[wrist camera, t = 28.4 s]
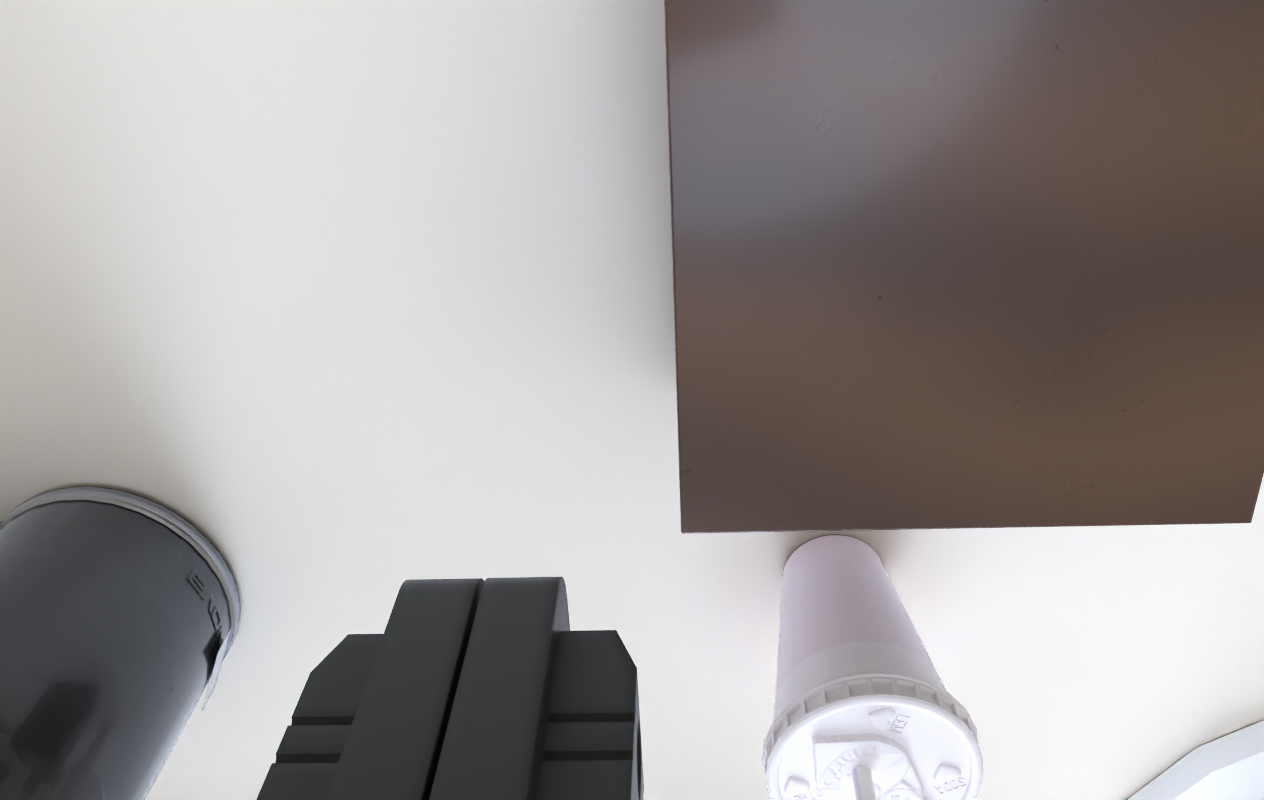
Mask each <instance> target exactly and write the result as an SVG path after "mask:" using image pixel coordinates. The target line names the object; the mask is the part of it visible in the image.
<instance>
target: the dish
mask: <svg viewBox="0 0 1264 800" xmlns="http://www.w3.org/2000/svg"><path fill="white" fill-rule="evenodd" d="M1127 800H1264V720H1263V721H1260V722H1258V723H1256V724H1253V725H1251V726H1248V727H1246V728H1243V729H1241V730H1238V731H1236V732H1233V733H1231V734H1229V735H1226V736H1224V737H1221V738H1219V739H1216V740H1214V741H1211V742H1209V743H1206V744H1204V745H1202V746H1199V747H1197V748H1195V749H1194V750H1193V751H1191V752H1190V753H1189V754H1187V755H1186V756H1185V757H1183V758H1182V759H1181V760H1179V761H1178V762H1177V763H1175V764H1174V765H1173V766H1171V767H1170V768H1169V769H1167V770H1166V771H1165V772H1163V773H1162V774H1161V775H1159V776H1158V777H1157V778H1155V779H1154V780H1153V781H1151V782H1150V783H1149V784H1147V785H1146V786H1145V787H1143V788H1142V789H1141V790H1139V791H1138V792H1137V793H1135V794H1134V795H1133V796H1131V797H1130V798H1129V799H1127Z"/></svg>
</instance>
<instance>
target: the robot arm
mask: <svg viewBox="0 0 1264 800" xmlns="http://www.w3.org/2000/svg"><path fill="white" fill-rule="evenodd" d="M239 620H240V602H239V596H238V591H237V588H236V584H235V581H234V579H233V577H232V574H231V572H230V570H229V568H228V566H227V565H226V563H225V561H224V560H223V558H222V557H221V555H220V554H219V553H218V551H217V550H216V549H215V548H214V546H213V545H212V544H211V543H210V542H209V541H208V540H207V539H206V538H205V537H204V536H203V535H202V534H201V533H200V532H199V531H198V530H197V529H196V528H194V527H193V526H192V525H191V524H189V523H188V522H187V521H185V520H184V519H183V518H181V517H180V516H178V515H176V514H175V513H173V512H172V511H170V510H168V509H166V508H164V507H162V506H160V505H159V504H156V503H154V502H152V501H149V500H147V499H145V498H142V497H139V496H136V495H133V494H129V493H126V492H122V491H117V490H112V489H106V488H96V487H74V488H65V489H59V490H54V491H50V492H47V493H44V494H41V495H38V496H36V497H34V498H32V499H30V500H28V501H26V502H24V503H23V504H21V505H20V506H18V507H17V508H16V509H15V510H14V511H13V512H11V513H10V514H9V515H8V516H7V517H6V518H5V520H4V521H3V522H2V523H1V524H0V800H145V798H146V796H147V795H148V793H149V791H150V789H151V787H152V785H153V783H154V782H155V780H156V778H157V776H158V774H159V772H160V771H161V769H162V767H163V765H164V763H165V761H166V759H167V758H168V756H169V754H170V752H171V750H172V748H173V746H174V745H175V743H176V741H177V739H178V737H179V735H180V733H181V732H182V730H183V728H184V726H185V724H186V722H187V720H188V719H189V717H190V715H191V713H192V711H193V709H194V708H195V706H196V704H197V702H198V700H199V698H200V696H201V695H202V693H203V691H204V689H205V687H206V685H207V683H208V682H209V680H210V678H211V680H210V683H209V687H208V691H207V694H206V698H205V702H204V705H203V709H204V707H205V705H206V703H207V701H208V699H209V697H210V695H211V693H212V692H213V690H214V688H215V685H216V681H217V678H218V674H219V670H220V667H221V663H222V661H223V659H224V657H225V656H226V654H227V652H228V650H229V648H230V647H231V645H232V643H233V641H234V638H235V636H236V633H237V630H238V626H239ZM203 709H202V711H203ZM643 791H644V785H643V768H642V750H641V733H640V716H639V699H638V682H637V668H636V666H635V664H634V662H633V660H632V659H631V657H630V655H629V653H628V651H627V649H626V648H625V646H624V644H623V642H622V640H621V638H620V637H619V635H618V633H617V631H616V630H604V631H570V626H569V615H568V604H567V594H566V587H565V582H564V579H563V577H526V578H487V579H486V580H485V582H484V580H483V579H427V580H406V581H405V582H404V583H403V584H402V586H401V588H400V590H399V593H398V596H397V599H396V601H395V604H394V607H393V610H392V613H391V615H390V618H389V621H388V624H387V627H386V629H385V632H384V634H350V635H347V636H346V638H345V639H344V640H343V641H342V642H341V643H340V644H339V645H338V646H337V647H336V648H335V649H334V650H333V651H332V652H331V653H330V654H329V655H328V656H327V657H326V658H325V659H324V660H323V661H322V662H321V663H320V664H319V665H318V666H317V667H316V668H315V669H314V670H313V671H312V672H311V673H310V675H309V678H308V680H307V682H306V685H305V687H304V689H303V692H302V694H301V696H300V699H299V701H298V703H297V706H296V708H295V711H294V713H293V715H292V725H291V726H288V727H287V729H286V732H285V734H284V736H283V739H282V741H281V743H280V746H279V748H278V751H277V753H276V763H272V765H271V767H270V769H269V772H268V774H267V776H266V779H265V781H264V783H263V786H262V788H261V791H260V793H259V795H258V798H257V800H643Z"/></svg>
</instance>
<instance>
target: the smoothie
mask: <svg viewBox="0 0 1264 800" xmlns="http://www.w3.org/2000/svg"><path fill="white" fill-rule="evenodd" d="M762 763H763V767H764V771H765V775H766V784H767V790H768V793H769V797H770V799H771V800H974V799H975V797H976V795H977V793H978V790H979V788H980V785H981V781H982V777H983V759H982V754H981V750H980V747H979V744H978V736H977V729H976V727H975V725H974V723H973V721H972V720H971V718H970V716H969V714H968V712H967V710H966V709H965V708H964V707H963V706H962V705H961V704H960V703H959V702H958V701H957V700H956V699H955V698H953V697H952V696H951V695H950V694H949V693H948V692H947V691H946V689H945V687H944V685H943V683H942V681H941V679H940V677H939V675H938V674H937V672H936V670H935V668H934V666H933V664H932V662H931V660H930V658H929V656H928V654H927V652H926V650H925V648H924V646H923V644H922V642H921V640H920V638H919V636H918V634H917V632H916V630H915V628H914V626H913V624H912V622H911V620H910V618H909V616H908V614H907V612H906V610H905V608H904V606H903V604H902V602H901V600H900V598H899V596H898V594H897V592H896V590H895V588H894V586H893V584H892V582H891V580H890V578H889V576H888V574H887V572H886V570H885V568H884V566H883V564H882V562H881V560H880V558H879V556H878V554H877V553H876V552H875V551H874V550H873V549H872V548H871V547H870V546H869V545H868V544H866V543H865V542H863V541H861V540H858V539H856V538H853V537H849V536H843V535H829V536H823V537H819V538H815V539H813V540H810V541H808V542H806V543H805V544H803V545H801V546H800V547H799V548H798V549H796V550H795V551H794V552H793V553H792V555H791V556H790V557H789V559H788V560H787V562H786V564H785V567H784V570H783V577H782V594H781V611H780V628H779V645H778V663H777V680H776V697H775V706H774V721H773V723H772V725H771V727H770V729H769V731H768V733H767V735H766V737H765V739H764V747H763V757H762Z"/></svg>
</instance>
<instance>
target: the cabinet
mask: <svg viewBox="0 0 1264 800" xmlns="http://www.w3.org/2000/svg"><path fill="white" fill-rule="evenodd" d="M664 5H665V36H666V68H667V99H668V131H669V162H670V194H671V225H672V257H673V288H674V320H675V351H676V383H677V414H678V446H679V478H680V509H681V532H682V533H733V532H787V531H842V530H896V529H950V528H1004V527H1059V526H1113V525H1167V524H1221V523H1251V521H1252V517H1253V513H1254V509H1255V505H1256V501H1257V497H1258V493H1259V489H1260V485H1261V481H1262V477H1263V474H1264V0H664Z"/></svg>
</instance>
